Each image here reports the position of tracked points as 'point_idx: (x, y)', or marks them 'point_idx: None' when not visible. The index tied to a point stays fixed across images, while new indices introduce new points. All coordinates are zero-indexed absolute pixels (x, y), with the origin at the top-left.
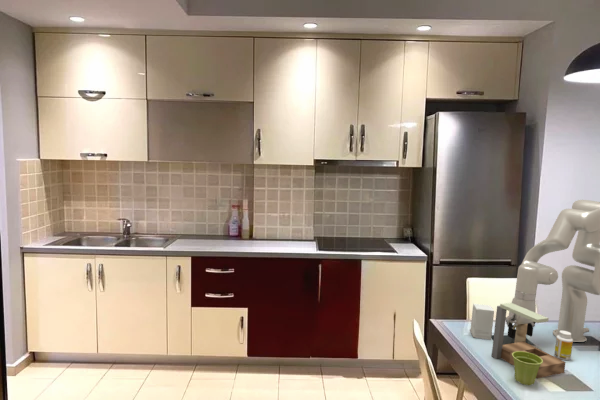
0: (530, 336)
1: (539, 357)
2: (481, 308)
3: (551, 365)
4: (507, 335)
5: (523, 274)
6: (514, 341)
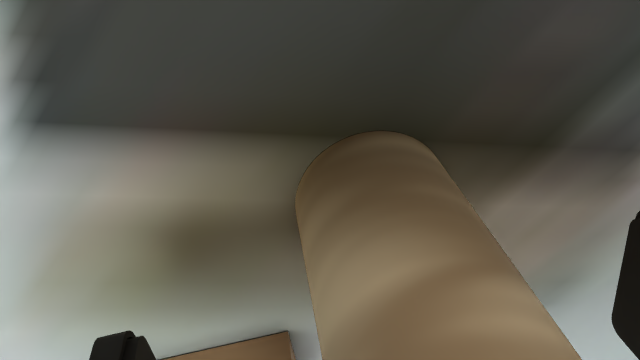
0: (615, 313)
1: None
2: None
3: None
4: (95, 341)
5: None
6: (315, 203)
